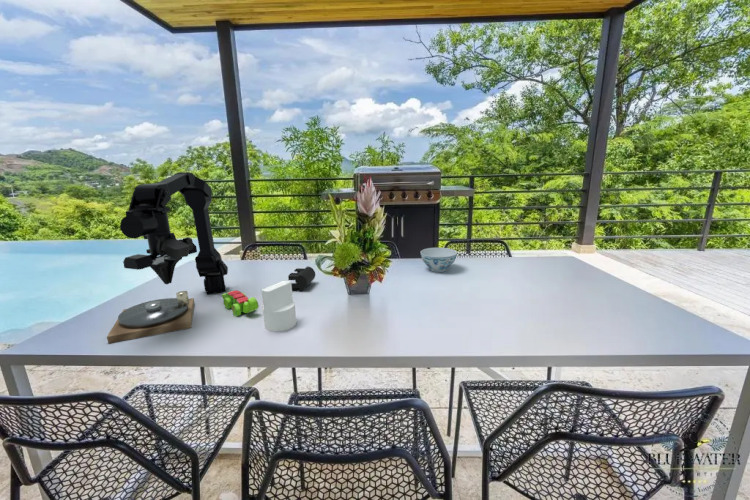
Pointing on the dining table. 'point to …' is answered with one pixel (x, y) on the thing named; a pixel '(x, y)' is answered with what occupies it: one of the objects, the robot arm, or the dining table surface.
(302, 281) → the end cap
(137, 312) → the handwheel
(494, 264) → the dining table surface
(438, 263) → the chinaware
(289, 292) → the base with upright slab
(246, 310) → the toy crocodile
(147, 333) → the wheel base
